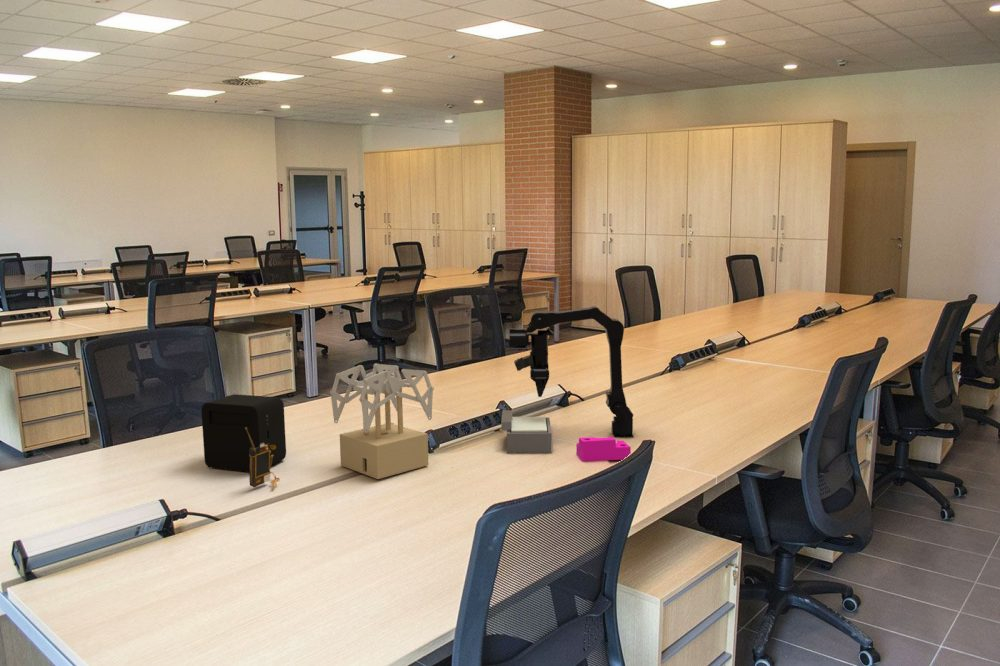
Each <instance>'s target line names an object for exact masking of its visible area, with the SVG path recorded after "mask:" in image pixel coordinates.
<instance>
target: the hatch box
mask: <svg viewBox="0 0 1000 666" xmlns="http://www.w3.org/2000/svg"><path fill="white" fill-rule="evenodd" d="M544 417H545V418H546V426H547V432H511V431H506V453H507V454H553V453H552V452H553V451H552V449H553V447H552V441H553V440H552V439H553V438H552V437H553V435H552V433H553V432H552V426H551V420H550V419H551V418H550V416H549V417H546V416H544Z"/></svg>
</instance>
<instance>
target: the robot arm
mask: <svg viewBox="0 0 1000 666" xmlns="http://www.w3.org/2000/svg"><path fill="white" fill-rule="evenodd" d="M586 320H594V321H596V322H597V323H598V324H600V326H602V327H603V328H604V331H605V336H606V340H607V343H608V347H609V349H608V353H609V375H610V377H609V378H610V379H609V380H610V386H609V387H610V388H609V391H607V390H606V391H605V397H606V401H605V404H606V406H607V407H608V408H609V411H610V412H611V414H613V416H612V419H613V420H612V421H611V434H612V435H613V438H634V430H633V429H634V426H633V425H634V419H633V417H634V413H633V412H632V410H631V408H630V407H629V406H628V405H627V400H626V395H625V392H624V388H623V376H622V375H623V369H622V343H623V339H624V331H625V326H624V324H623V323H622V322H621V321H620V320H619V319H617V318H611V317H609V316H608V315H607V314H605V313H604V312H603V311H602V310H600V308H599V307H597V306H595V305H593V306H590V307H583V308H575V309H568V310H561V311H552V310H551V311H550V310H535V311H534V312H533V313H532V314H531V316H530V321H529V323H528V324H527V325H526V327H525V328H509V338H508V349H510V350H511V349H513V350H516V349H520V350H521V349H522V350H523V349H525V350H526V347H528V346H530V351H529V355H525V356H522V357H520V358H517V359H515V360H514V362H513V363H514V366H515V368H516V371H517V372H520V371H522V370H524V369H526V368H528V367H530V369H529V372H530V373H529V374H530V379H531V380H532V381H533V382H534V383H535V387H536V393H537V397H538V398H541V397H543V394H544V393H545V392H544V391H545V390H546V387H547V384H548V381H549V379H550V369H549V336H554V332H553V331H552V330H551V329H550V327H553V326H555V325H557V324H563V323H570V322H578V321H586ZM536 330H537V332H535V331H536Z"/></svg>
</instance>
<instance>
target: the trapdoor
mask: <svg viewBox="0 0 1000 666" xmlns="http://www.w3.org/2000/svg"><path fill="white" fill-rule="evenodd" d="M501 414H502V415H501V422H500V424H501V425H500V428H501V430H500V431H504V432H505V431H506V432H507V431H511V432H547V426H546V418H545V417H546V416H513V410H510V409H509V410H504V409H503V410H502V412H501Z"/></svg>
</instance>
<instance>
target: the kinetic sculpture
mask: <svg viewBox="0 0 1000 666" xmlns="http://www.w3.org/2000/svg"><path fill="white" fill-rule="evenodd" d="M372 368H373V369H372V371H371V372H369V373H367V372H366V370H365V368H364V365H362V364H359V365H357V366H353V367H352V368H348V369H346V370H343V371H341V372H337V373H336V374H335V379H334V381H333V384H332V389H331V390H330V391H329V394H330V399H331V407H332V408H331V409H332V413H333V415H332V416H333V422H334V424H338V422H339V420H340V417H341V415H342V413H343V410H344V408H345V405H346V404H349V403H350V402H351V401H352V400H354V399H356V398H357V397H359V396H360V397H359V400H358V401H359V402H360V403H361V410H362V411H361V412H362V422H363V424H362V425H363V428H362V429H361V428H360V429H357V430H353V431H348V432H347V431H346V432H343V433H339V452H340V454H339V455H340V466H341V467H344V468H347V469H349V470H352V471H355V472H357V473H360V474H363V475H366V476H368V477H371V478H373V479H376V480H379V479H384V478H387V477H391V476H394V475H397V474H398V475H399V474H401V473H406V472H409V471H413V470H416V469H420V468H423V467H427V466H429V434H428V433H426V432H423V431H420V430H416V429H412V428H409V427H406V426H405V427H404V416H403V415H404V414H403V413H404V411H403V410H404V409H403V398H404V399H406V400H409V401H410V400H411V401H414V402H417V403H420V405H421V407H422V410H423V412H424V413H425V416H426V417H427V419H428V421H431V420H432V418H433V417H432V416H433V393H434V392H433V391H435V388H434V387H433V386H432V384H431V381H430V378H429V375H428V372H427V371H426V370H419V369H409V368H408V369H407V368H402V369H401V371H399V366H398V365H394V364H383V363H374V364H373V367H372ZM400 372H401V373H402V375H403V376H404V378H405V379H402V376H401V373H400ZM360 373H361V376H362V378H363V380H357V379H358V377H359V375H360ZM350 375H352V376H351V378H350V377H349V376H350ZM412 376H415V378H414V379H413V378H412ZM423 378H424V381H425V383H426V387H427V390H426V391H425V392H424V393H423V395H421V394H420V392H419V390H418V387H417V385H418V384H419V382H420V381H421V380H422V379H423ZM340 380H341V381H342V382H344V383H345V384H347V385H348V386H347V389H346V391H345V394H344V396H342V395H341V394H340V393H338V392H337V388H338V386H339V382H340ZM352 388H353V391H355V392H354V393H353V394H351V392H352ZM403 388H412V390H413V393H414V395H415V396H414V395H411V394H409V393H406V392H405V393H404V392H403ZM350 394H351V395H350ZM381 394H384V398H383V399H381ZM369 395H372V396H373V395H374V396H373V397H374V399H373V401H372V402H370V401H369V397H368V396H369ZM426 400H427V403H426ZM338 402H340V403H339V405H338ZM391 403H392V405H393V407H394V409H395V411H396V412H397V424H395V423H394V422H391V417H392V416H391ZM383 405H384V412H385V415H384V416H385V419H384V420H385V422H384V424H381V422H382V421H381V419H382V418H381V417H382V416H381V407H382V406H383ZM369 411H370V412H369ZM374 419H375V421H374V424H375V425H374V426H371V425H372V422H373V420H374Z"/></svg>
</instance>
